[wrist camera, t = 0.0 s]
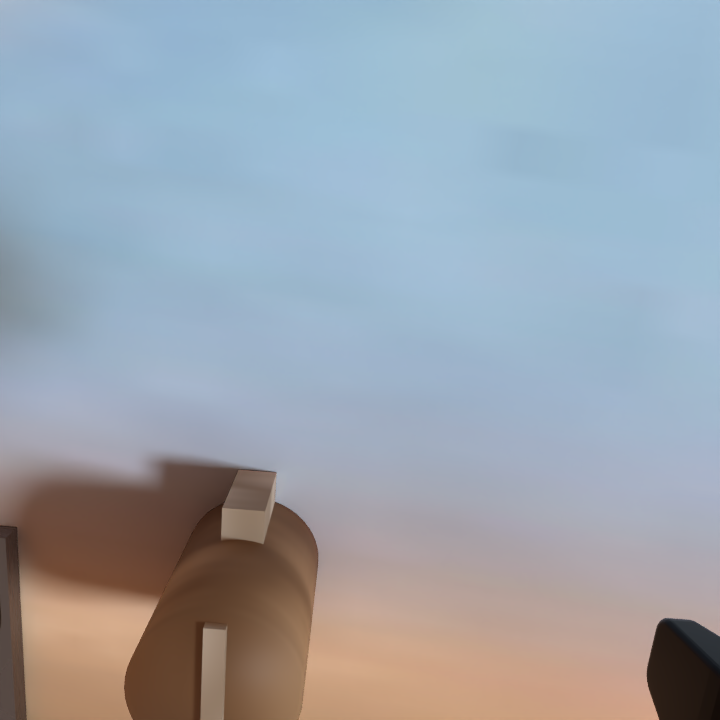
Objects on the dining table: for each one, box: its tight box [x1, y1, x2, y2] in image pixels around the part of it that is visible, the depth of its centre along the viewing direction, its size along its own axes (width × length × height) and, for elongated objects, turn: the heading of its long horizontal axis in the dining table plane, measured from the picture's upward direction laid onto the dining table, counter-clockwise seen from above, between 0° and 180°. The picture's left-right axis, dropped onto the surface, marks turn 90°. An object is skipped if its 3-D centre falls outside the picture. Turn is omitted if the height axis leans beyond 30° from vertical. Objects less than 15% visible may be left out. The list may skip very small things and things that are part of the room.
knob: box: [124, 470, 318, 720], centre depth 21 cm, size 5×6×7 cm
